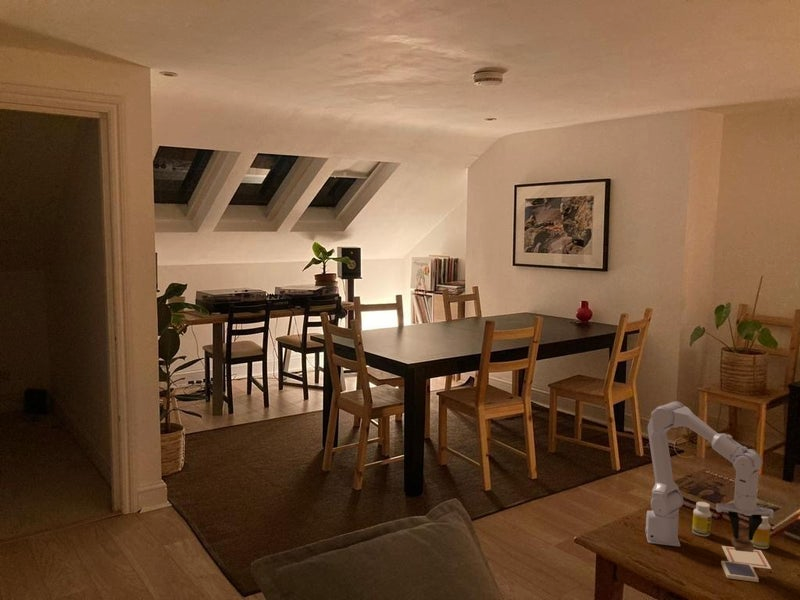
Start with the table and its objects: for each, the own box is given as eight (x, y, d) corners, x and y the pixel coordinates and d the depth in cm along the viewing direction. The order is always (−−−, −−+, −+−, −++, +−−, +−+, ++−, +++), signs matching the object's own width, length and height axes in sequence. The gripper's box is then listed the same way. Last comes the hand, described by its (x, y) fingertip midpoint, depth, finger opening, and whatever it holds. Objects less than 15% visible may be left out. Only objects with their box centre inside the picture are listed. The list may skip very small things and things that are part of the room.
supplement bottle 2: (771, 550, 199) (773, 520, 198) (752, 548, 200) (754, 518, 199) (765, 541, 204) (767, 512, 203) (747, 540, 205) (749, 510, 204)
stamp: (736, 550, 185) (737, 530, 184) (731, 543, 190) (732, 523, 189) (753, 552, 184) (754, 532, 184) (748, 544, 189) (749, 525, 188)
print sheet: (729, 564, 191) (729, 563, 191) (721, 546, 201) (721, 545, 201) (771, 569, 188) (771, 568, 188) (761, 551, 198) (761, 550, 198)
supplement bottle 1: (709, 538, 206) (711, 509, 205) (690, 534, 209) (692, 505, 208) (711, 531, 211) (713, 503, 210) (693, 527, 214) (694, 499, 213)
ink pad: (727, 578, 183) (727, 574, 183) (721, 563, 191) (721, 560, 191) (758, 582, 181) (758, 578, 181) (751, 567, 189) (751, 563, 189)
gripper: (720, 495, 183) (717, 541, 185) (778, 501, 179) (774, 548, 181) (715, 485, 190) (713, 529, 192) (771, 491, 186) (767, 536, 188)
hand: (742, 537), depth 187 cm, fingers closed on stamp, 3 cm apart
